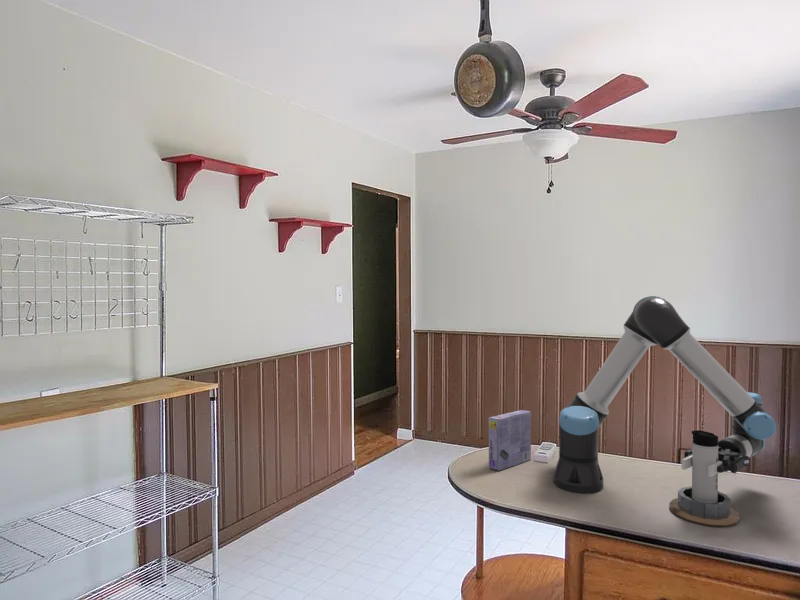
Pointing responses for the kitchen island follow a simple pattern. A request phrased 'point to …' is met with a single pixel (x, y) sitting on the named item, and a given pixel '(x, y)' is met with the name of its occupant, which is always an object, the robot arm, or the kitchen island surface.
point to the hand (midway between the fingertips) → (696, 468)
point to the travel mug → (704, 466)
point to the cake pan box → (509, 439)
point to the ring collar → (704, 510)
